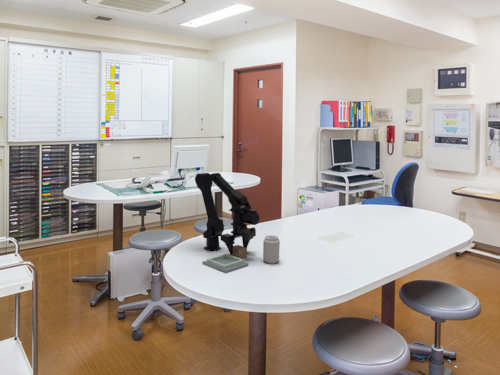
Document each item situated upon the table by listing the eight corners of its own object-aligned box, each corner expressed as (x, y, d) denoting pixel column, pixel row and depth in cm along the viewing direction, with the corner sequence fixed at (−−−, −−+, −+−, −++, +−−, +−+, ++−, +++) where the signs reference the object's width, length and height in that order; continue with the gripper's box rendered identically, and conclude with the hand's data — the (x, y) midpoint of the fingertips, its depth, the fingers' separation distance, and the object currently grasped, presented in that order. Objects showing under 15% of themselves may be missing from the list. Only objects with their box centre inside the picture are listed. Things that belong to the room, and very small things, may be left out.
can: (265, 264, 190) (266, 239, 189) (261, 259, 198) (261, 235, 196) (281, 263, 192) (282, 238, 191) (275, 258, 200) (276, 234, 198)
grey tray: (202, 263, 190) (202, 258, 189) (225, 257, 200) (225, 252, 199) (225, 273, 179) (225, 267, 178) (248, 265, 189) (248, 260, 188)
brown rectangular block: (229, 255, 203) (229, 246, 202) (237, 253, 206) (237, 244, 205) (238, 259, 198) (239, 250, 197) (246, 257, 201) (247, 248, 200)
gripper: (236, 227, 187) (235, 260, 189) (264, 221, 200) (263, 252, 203) (220, 223, 195) (219, 255, 197) (247, 217, 208) (247, 247, 210)
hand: (238, 252), depth 202 cm, fingers open, 9 cm apart
